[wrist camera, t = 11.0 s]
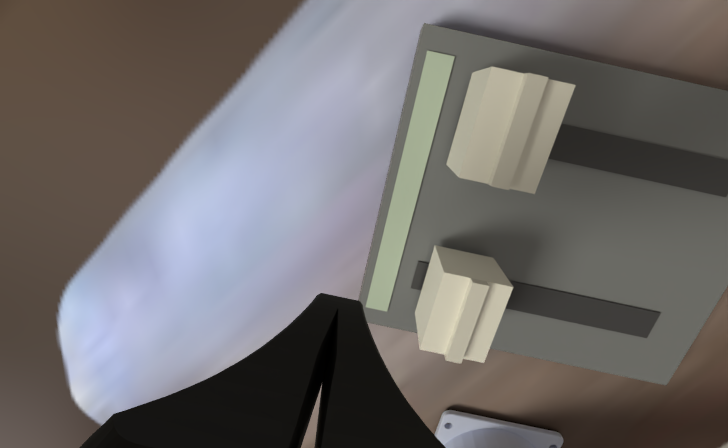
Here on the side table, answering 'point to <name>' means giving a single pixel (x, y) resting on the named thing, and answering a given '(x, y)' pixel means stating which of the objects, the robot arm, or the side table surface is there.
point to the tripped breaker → (508, 128)
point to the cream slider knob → (461, 304)
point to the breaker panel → (566, 210)
